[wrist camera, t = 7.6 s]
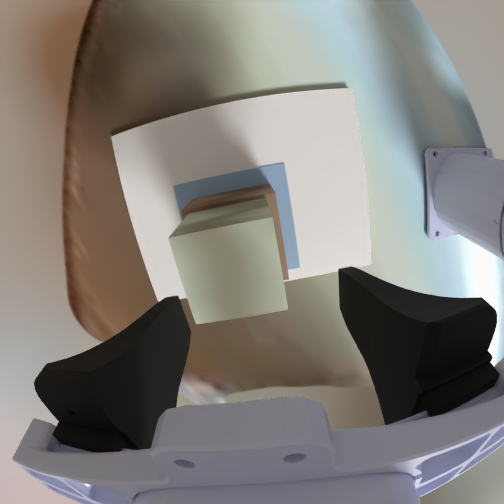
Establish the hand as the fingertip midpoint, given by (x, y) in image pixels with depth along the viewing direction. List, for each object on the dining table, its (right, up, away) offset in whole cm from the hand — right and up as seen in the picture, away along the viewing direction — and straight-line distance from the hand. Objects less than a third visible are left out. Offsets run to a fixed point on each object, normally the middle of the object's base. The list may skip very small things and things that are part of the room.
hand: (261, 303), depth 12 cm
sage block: (-1, +3, +4) cm, 5 cm away
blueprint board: (-1, +6, +8) cm, 10 cm away
